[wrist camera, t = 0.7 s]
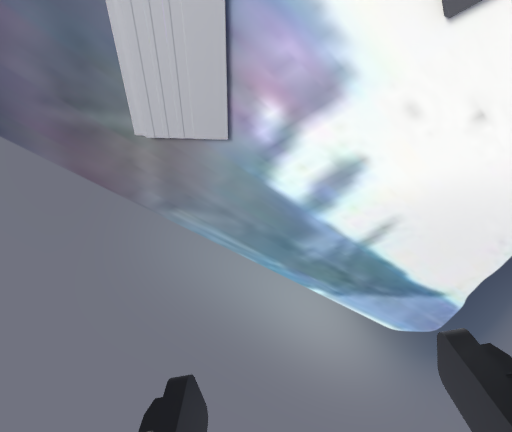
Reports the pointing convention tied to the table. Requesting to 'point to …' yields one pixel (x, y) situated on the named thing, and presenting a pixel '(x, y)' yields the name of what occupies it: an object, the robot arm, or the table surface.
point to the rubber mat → (456, 6)
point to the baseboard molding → (173, 66)
